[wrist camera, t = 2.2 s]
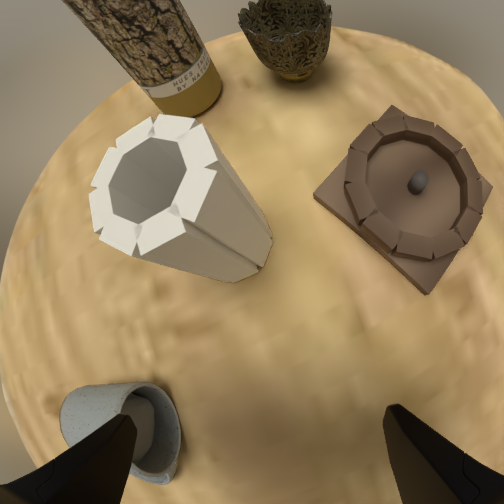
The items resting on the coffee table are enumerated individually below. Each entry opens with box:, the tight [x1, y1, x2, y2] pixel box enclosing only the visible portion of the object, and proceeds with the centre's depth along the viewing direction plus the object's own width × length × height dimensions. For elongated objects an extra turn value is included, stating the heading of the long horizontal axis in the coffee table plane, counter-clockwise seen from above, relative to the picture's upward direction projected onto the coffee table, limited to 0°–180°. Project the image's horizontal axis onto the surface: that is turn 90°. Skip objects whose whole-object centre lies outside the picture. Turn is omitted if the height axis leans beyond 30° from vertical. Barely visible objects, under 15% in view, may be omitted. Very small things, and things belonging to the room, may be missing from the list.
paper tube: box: [62, 0, 222, 118], centre depth 14 cm, size 7×7×25 cm
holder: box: [313, 105, 493, 295], centre depth 18 cm, size 11×11×3 cm
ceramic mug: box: [59, 382, 181, 485], centre depth 18 cm, size 11×8×8 cm
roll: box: [89, 114, 273, 283], centre depth 17 cm, size 6×6×12 cm
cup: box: [238, 0, 332, 82], centre depth 20 cm, size 8×7×8 cm
